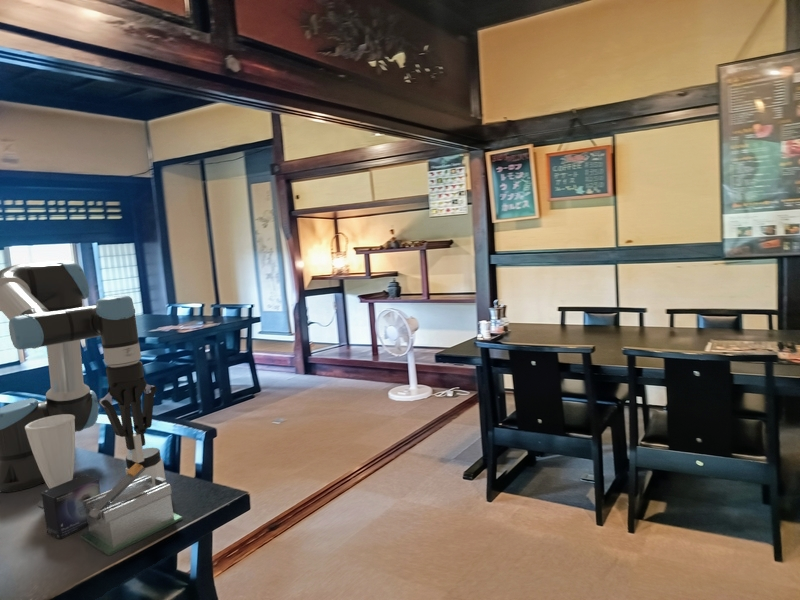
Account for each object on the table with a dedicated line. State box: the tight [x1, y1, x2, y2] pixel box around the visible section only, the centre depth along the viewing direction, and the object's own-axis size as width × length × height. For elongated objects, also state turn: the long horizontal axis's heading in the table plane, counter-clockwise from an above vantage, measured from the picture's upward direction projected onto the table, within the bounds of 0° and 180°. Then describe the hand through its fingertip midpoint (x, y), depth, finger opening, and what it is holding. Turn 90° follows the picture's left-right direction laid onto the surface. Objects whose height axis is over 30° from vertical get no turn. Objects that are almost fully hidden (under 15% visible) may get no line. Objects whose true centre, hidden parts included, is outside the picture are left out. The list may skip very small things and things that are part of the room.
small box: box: [40, 474, 101, 540], centre depth 129 cm, size 11×6×10 cm, turn 148°
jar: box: [124, 447, 166, 487], centre depth 141 cm, size 9×8×12 cm
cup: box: [25, 414, 76, 509], centre depth 145 cm, size 12×12×22 cm
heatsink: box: [80, 475, 183, 556], centre depth 126 cm, size 14×17×9 cm
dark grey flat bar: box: [86, 463, 145, 520], centre depth 123 cm, size 14×4×2 cm, turn 142°
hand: (138, 460), depth 127 cm, fingers closed
